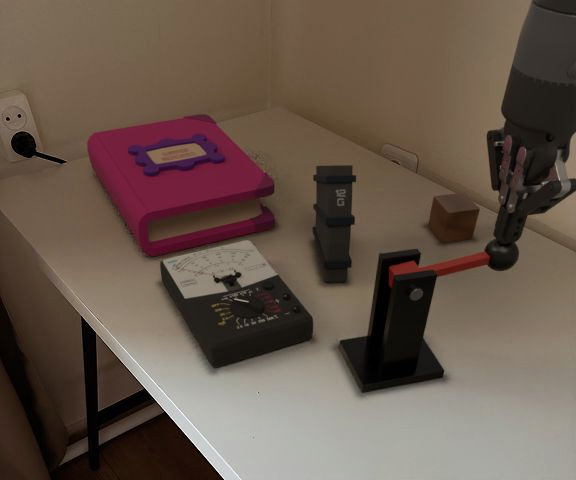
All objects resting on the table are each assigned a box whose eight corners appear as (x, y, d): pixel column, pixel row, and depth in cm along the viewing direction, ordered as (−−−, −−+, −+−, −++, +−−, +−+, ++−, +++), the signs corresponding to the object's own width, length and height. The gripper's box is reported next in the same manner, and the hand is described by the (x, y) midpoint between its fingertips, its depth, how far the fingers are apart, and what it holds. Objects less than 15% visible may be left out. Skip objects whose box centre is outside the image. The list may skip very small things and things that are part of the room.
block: (457, 222, 99) (464, 192, 95) (472, 239, 95) (480, 208, 92) (427, 226, 98) (433, 196, 94) (441, 243, 94) (448, 212, 91)
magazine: (326, 287, 83) (326, 166, 78) (312, 271, 95) (311, 165, 90) (354, 286, 83) (356, 165, 78) (337, 271, 95) (337, 165, 90)
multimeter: (213, 371, 73) (210, 338, 70) (161, 282, 85) (156, 250, 82) (313, 341, 78) (316, 308, 74) (250, 260, 90) (250, 228, 86)
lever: (505, 255, 71) (510, 227, 68) (522, 273, 68) (528, 245, 66) (385, 285, 69) (386, 257, 66) (398, 305, 67) (400, 277, 64)
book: (143, 260, 89) (135, 211, 84) (92, 174, 107) (83, 129, 101) (278, 227, 96) (278, 180, 91) (209, 152, 114) (206, 109, 108)
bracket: (414, 334, 79) (435, 237, 69) (442, 378, 73) (469, 279, 64) (338, 347, 77) (349, 249, 67) (361, 393, 71) (376, 293, 62)
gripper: (645, 88, 51) (572, 270, 63) (553, 37, 60) (505, 205, 72) (563, 95, 49) (504, 280, 61) (482, 42, 58) (444, 212, 70)
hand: (504, 239), depth 67 cm, fingers closed
